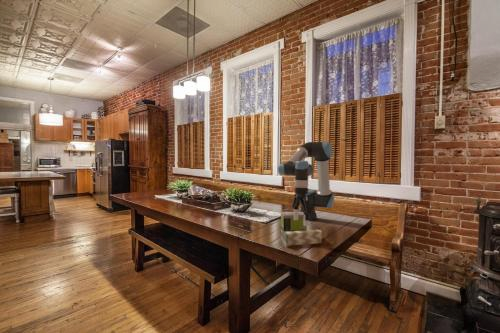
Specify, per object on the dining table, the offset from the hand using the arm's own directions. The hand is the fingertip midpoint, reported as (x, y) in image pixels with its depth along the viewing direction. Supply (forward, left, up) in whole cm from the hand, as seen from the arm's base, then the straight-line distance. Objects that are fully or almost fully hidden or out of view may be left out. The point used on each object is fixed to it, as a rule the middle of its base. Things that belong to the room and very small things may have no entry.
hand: (300, 222), depth 148 cm
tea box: (-14, +2, -13) cm, 19 cm away
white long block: (0, +2, -12) cm, 13 cm away
